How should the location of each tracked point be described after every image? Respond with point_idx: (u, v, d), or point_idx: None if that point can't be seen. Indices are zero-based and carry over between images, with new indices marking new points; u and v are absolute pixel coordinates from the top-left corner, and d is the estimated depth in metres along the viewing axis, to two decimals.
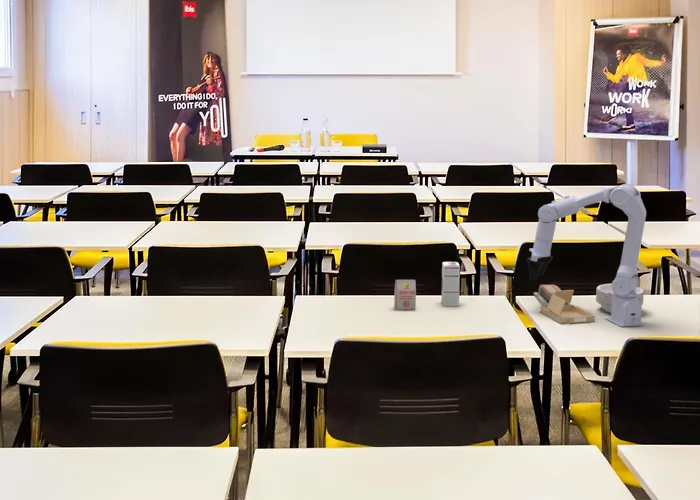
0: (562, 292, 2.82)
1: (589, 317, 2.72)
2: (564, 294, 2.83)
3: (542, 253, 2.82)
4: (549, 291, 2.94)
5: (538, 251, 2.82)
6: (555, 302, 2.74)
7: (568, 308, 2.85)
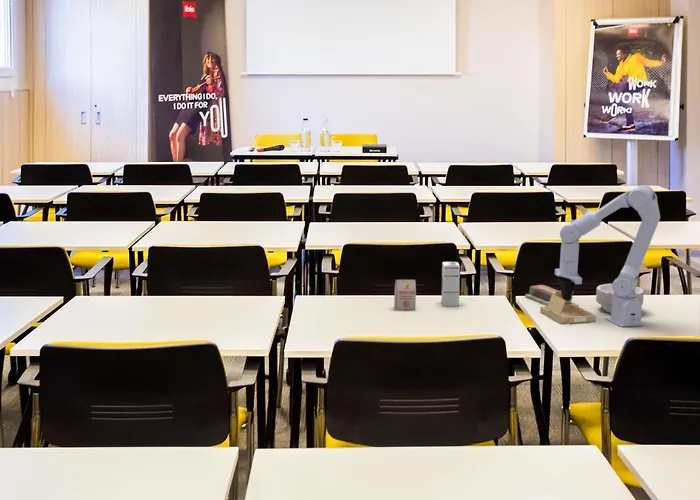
0: None
1: (589, 317, 2.72)
2: None
3: (575, 274, 2.77)
4: (551, 292, 2.93)
5: (572, 273, 2.77)
6: (555, 302, 2.74)
7: (568, 308, 2.85)
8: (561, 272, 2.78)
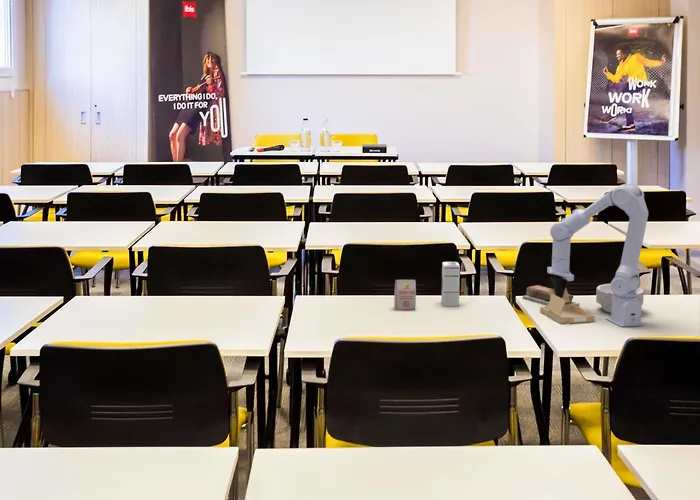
0: None
1: (589, 317, 2.72)
2: None
3: (567, 271, 2.82)
4: None
5: (564, 271, 2.82)
6: (555, 302, 2.74)
7: (568, 308, 2.85)
8: (553, 270, 2.83)
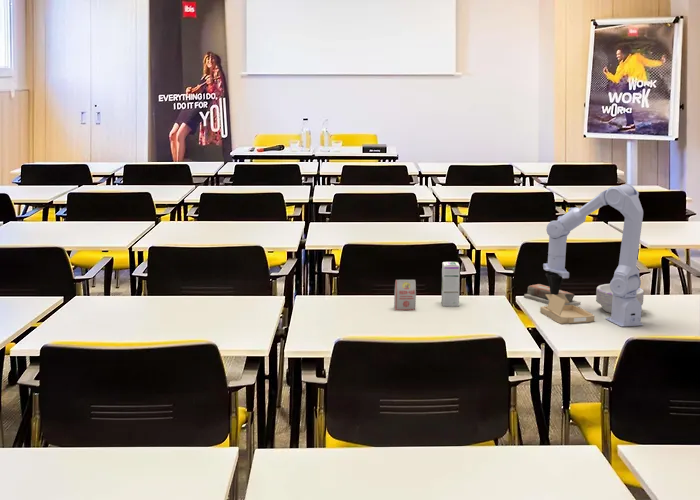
0: None
1: (589, 317, 2.72)
2: None
3: (563, 269, 2.85)
4: None
5: (559, 268, 2.85)
6: (555, 302, 2.74)
7: (568, 308, 2.85)
8: (549, 267, 2.86)
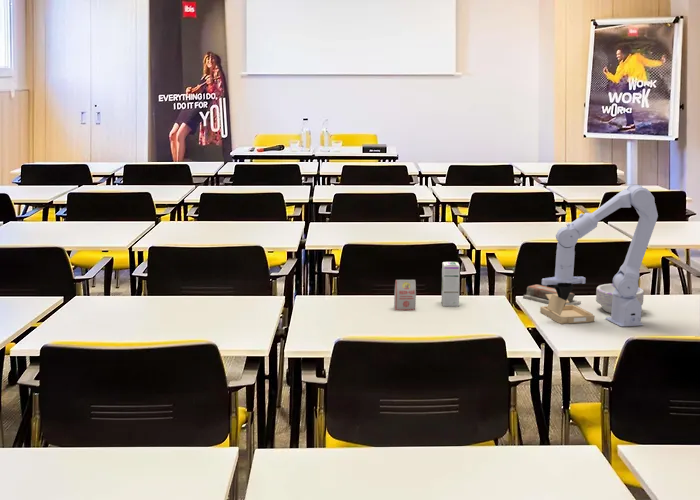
0: None
1: (589, 317, 2.72)
2: None
3: None
4: (554, 291, 2.94)
5: None
6: (555, 302, 2.74)
7: (568, 308, 2.85)
8: (569, 278, 2.70)
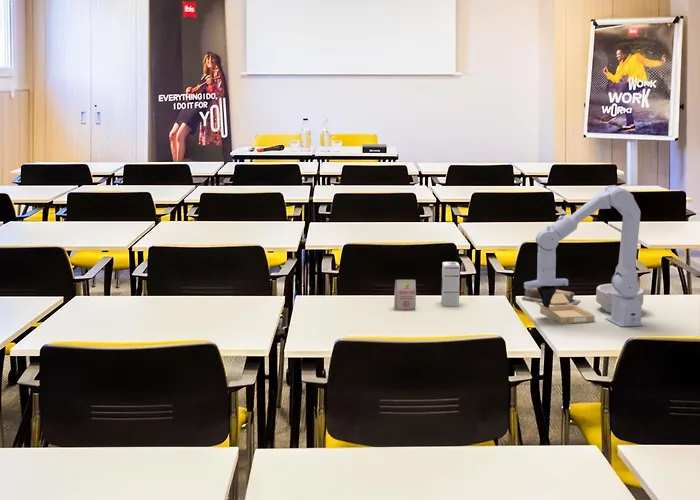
0: None
1: (589, 317, 2.72)
2: (556, 296, 2.88)
3: None
4: (556, 291, 2.94)
5: None
6: (543, 307, 2.73)
7: (568, 308, 2.85)
8: (551, 281, 2.68)
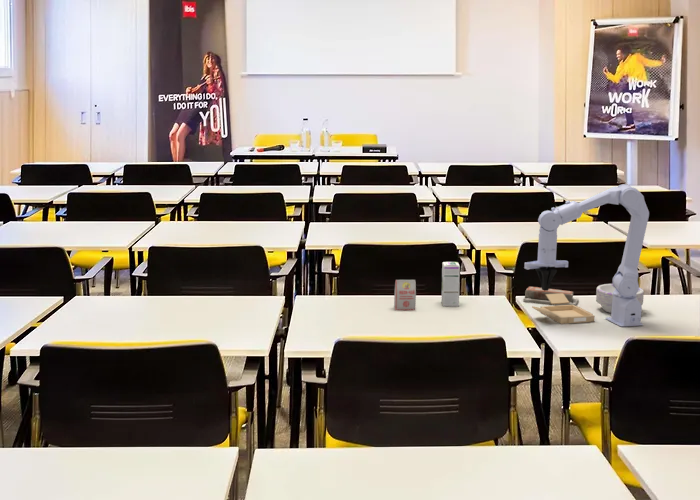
0: (552, 294, 2.89)
1: (589, 317, 2.72)
2: (556, 296, 2.88)
3: None
4: (557, 291, 2.94)
5: None
6: (542, 311, 2.74)
7: (568, 308, 2.85)
8: (552, 262, 2.69)
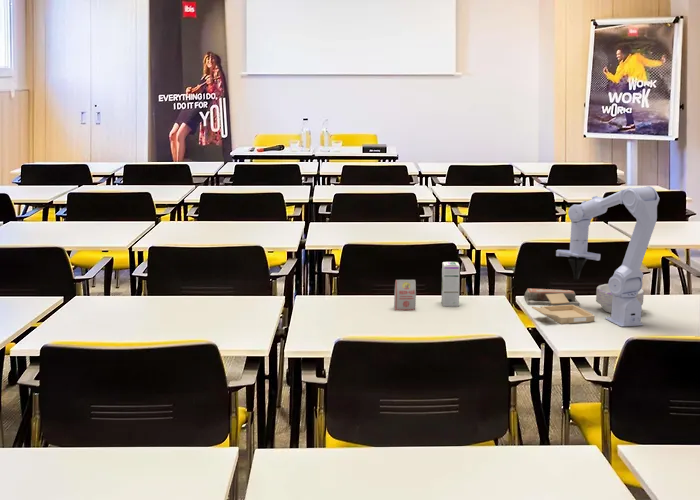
0: (552, 294, 2.89)
1: (589, 317, 2.72)
2: (556, 296, 2.88)
3: (587, 252, 2.87)
4: (559, 291, 2.94)
5: (586, 251, 2.85)
6: (542, 311, 2.74)
7: (568, 308, 2.85)
8: (577, 252, 2.84)
